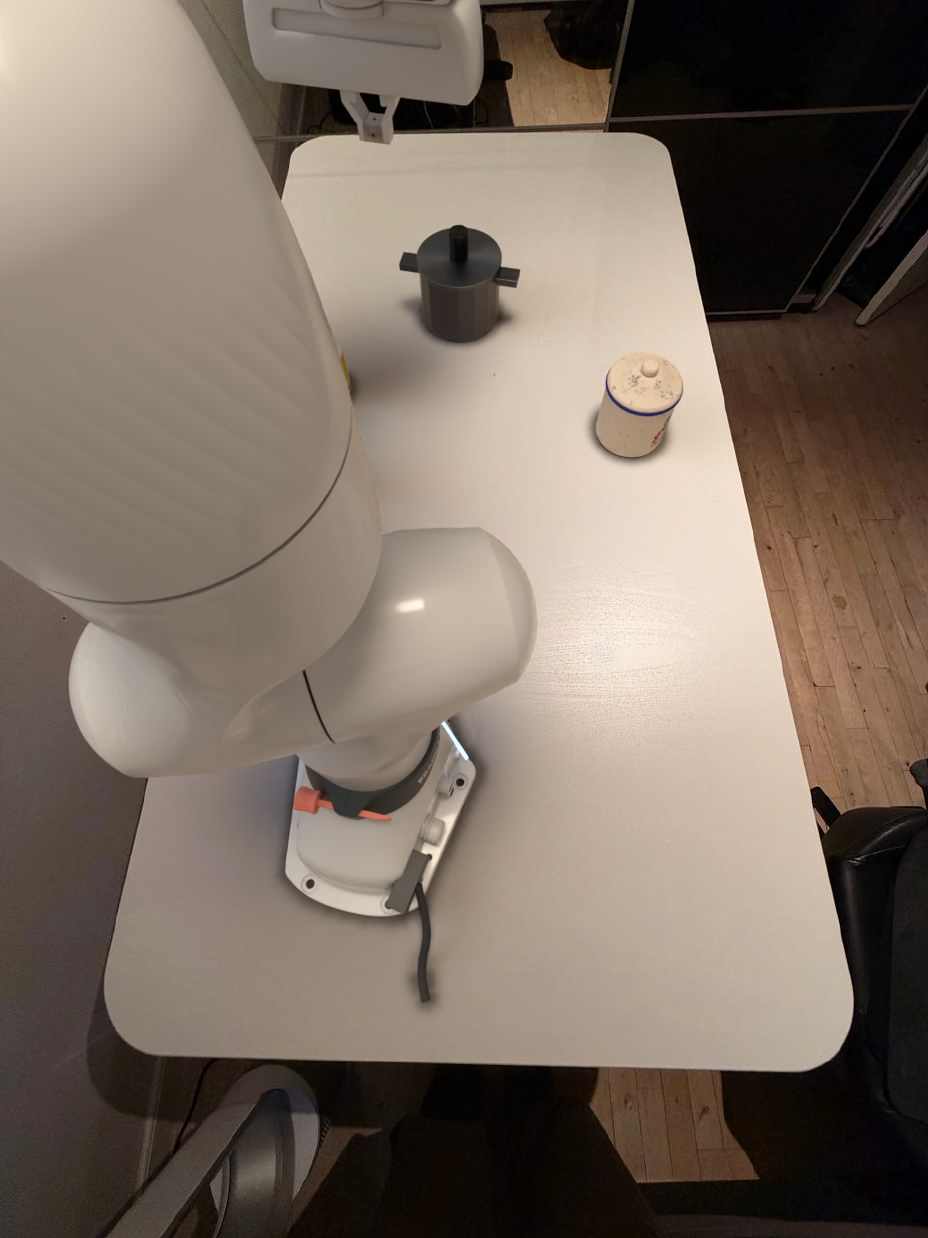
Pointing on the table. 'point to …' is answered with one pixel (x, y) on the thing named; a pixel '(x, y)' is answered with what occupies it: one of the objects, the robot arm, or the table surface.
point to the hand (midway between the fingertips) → (377, 139)
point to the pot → (461, 304)
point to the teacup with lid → (638, 404)
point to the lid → (459, 259)
